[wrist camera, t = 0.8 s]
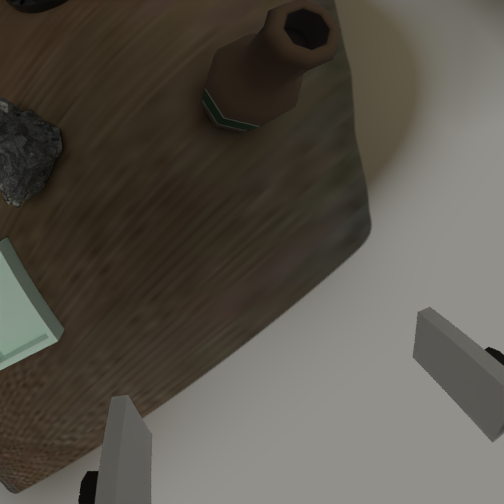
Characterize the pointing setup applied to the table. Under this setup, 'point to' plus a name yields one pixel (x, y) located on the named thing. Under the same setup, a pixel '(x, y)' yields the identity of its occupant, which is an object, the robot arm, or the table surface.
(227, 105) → the beer bottle
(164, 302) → the table surface
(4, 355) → the tray
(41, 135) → the rock
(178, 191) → the table surface
